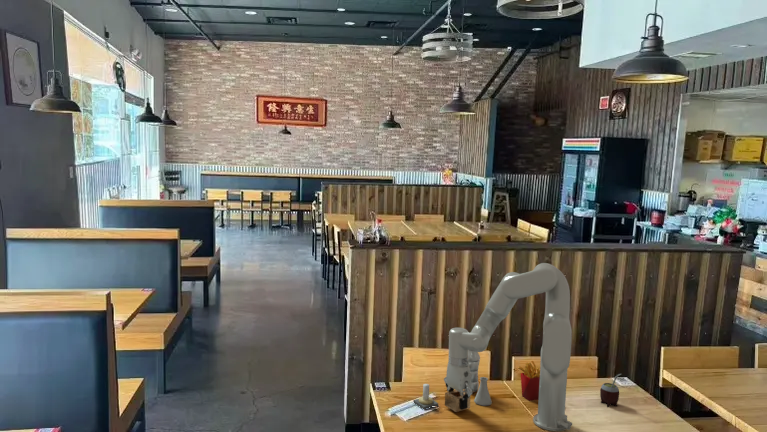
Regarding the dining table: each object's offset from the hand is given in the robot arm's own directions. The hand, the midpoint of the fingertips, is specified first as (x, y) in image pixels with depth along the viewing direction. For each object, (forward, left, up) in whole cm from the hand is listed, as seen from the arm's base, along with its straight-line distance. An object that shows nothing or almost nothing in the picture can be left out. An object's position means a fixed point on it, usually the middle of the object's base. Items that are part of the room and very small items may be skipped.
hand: (457, 404), depth 205 cm
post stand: (+9, +8, -2) cm, 13 cm away
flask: (0, -14, -2) cm, 14 cm away
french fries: (-5, -34, -2) cm, 34 cm away
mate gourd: (-26, -59, -2) cm, 64 cm away
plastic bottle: (+11, -17, -2) cm, 20 cm away
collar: (0, 0, -1) cm, 1 cm away
